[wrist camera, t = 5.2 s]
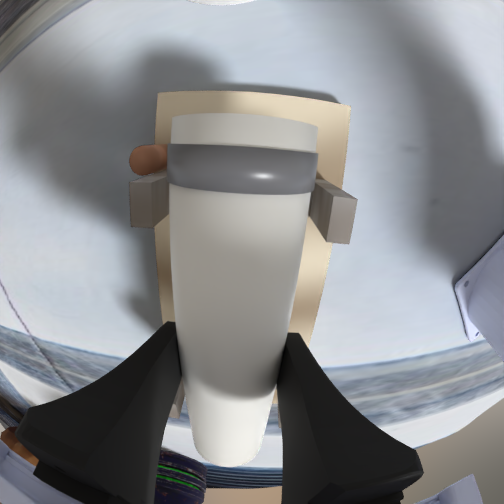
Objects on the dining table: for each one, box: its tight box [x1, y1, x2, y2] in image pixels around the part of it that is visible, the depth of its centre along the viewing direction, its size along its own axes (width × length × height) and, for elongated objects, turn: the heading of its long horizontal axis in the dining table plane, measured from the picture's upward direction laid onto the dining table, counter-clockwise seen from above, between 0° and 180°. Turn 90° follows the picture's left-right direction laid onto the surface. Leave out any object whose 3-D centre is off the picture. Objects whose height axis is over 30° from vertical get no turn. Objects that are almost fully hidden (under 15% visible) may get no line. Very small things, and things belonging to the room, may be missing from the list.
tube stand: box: [129, 91, 358, 428], centre depth 13 cm, size 20×9×6 cm, turn 175°
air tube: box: [167, 113, 319, 467], centre depth 10 cm, size 16×4×4 cm, turn 176°
